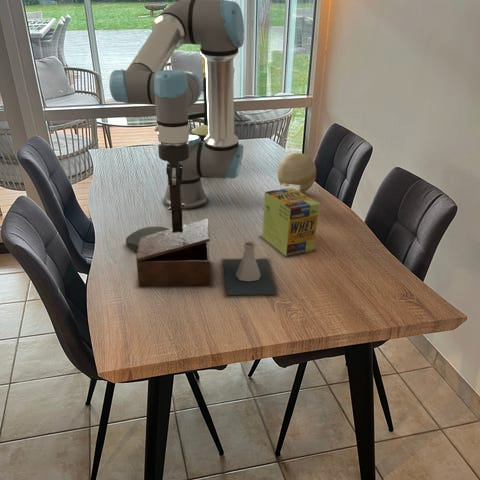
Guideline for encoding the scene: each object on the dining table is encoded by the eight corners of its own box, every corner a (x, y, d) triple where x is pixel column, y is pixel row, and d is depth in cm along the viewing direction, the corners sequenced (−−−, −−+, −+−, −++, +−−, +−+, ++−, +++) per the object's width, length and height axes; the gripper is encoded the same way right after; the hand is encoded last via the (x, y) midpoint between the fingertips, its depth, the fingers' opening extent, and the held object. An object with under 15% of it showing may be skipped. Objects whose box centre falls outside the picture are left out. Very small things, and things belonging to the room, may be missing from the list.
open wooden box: (208, 263, 150) (208, 239, 145) (209, 285, 139) (209, 261, 134) (143, 263, 148) (140, 239, 144) (139, 286, 137) (136, 261, 133)
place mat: (223, 260, 151) (223, 259, 151) (266, 260, 152) (266, 259, 152) (226, 296, 135) (226, 294, 134) (275, 295, 136) (275, 294, 135)
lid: (208, 220, 142) (207, 218, 142) (209, 241, 131) (209, 238, 131) (141, 239, 144) (140, 237, 143) (137, 261, 133) (135, 259, 133)
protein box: (286, 257, 154) (290, 208, 145) (261, 237, 165) (264, 191, 156) (314, 250, 158) (320, 203, 149) (288, 231, 169) (292, 186, 161)
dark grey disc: (158, 259, 150) (157, 250, 149) (121, 247, 156) (120, 238, 155) (187, 241, 161) (187, 233, 159) (151, 230, 167) (150, 222, 165)
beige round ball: (321, 195, 198) (326, 157, 189) (288, 201, 192) (291, 161, 183) (301, 183, 209) (304, 146, 200) (269, 188, 203) (271, 150, 194)
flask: (234, 269, 146) (235, 238, 140) (259, 269, 146) (261, 237, 141) (236, 282, 140) (237, 250, 134) (262, 282, 140) (264, 249, 135)
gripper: (159, 134, 128) (164, 221, 141) (156, 149, 117) (162, 242, 131) (189, 134, 128) (191, 221, 142) (188, 149, 118) (191, 242, 131)
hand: (177, 231), depth 136 cm, fingers closed
